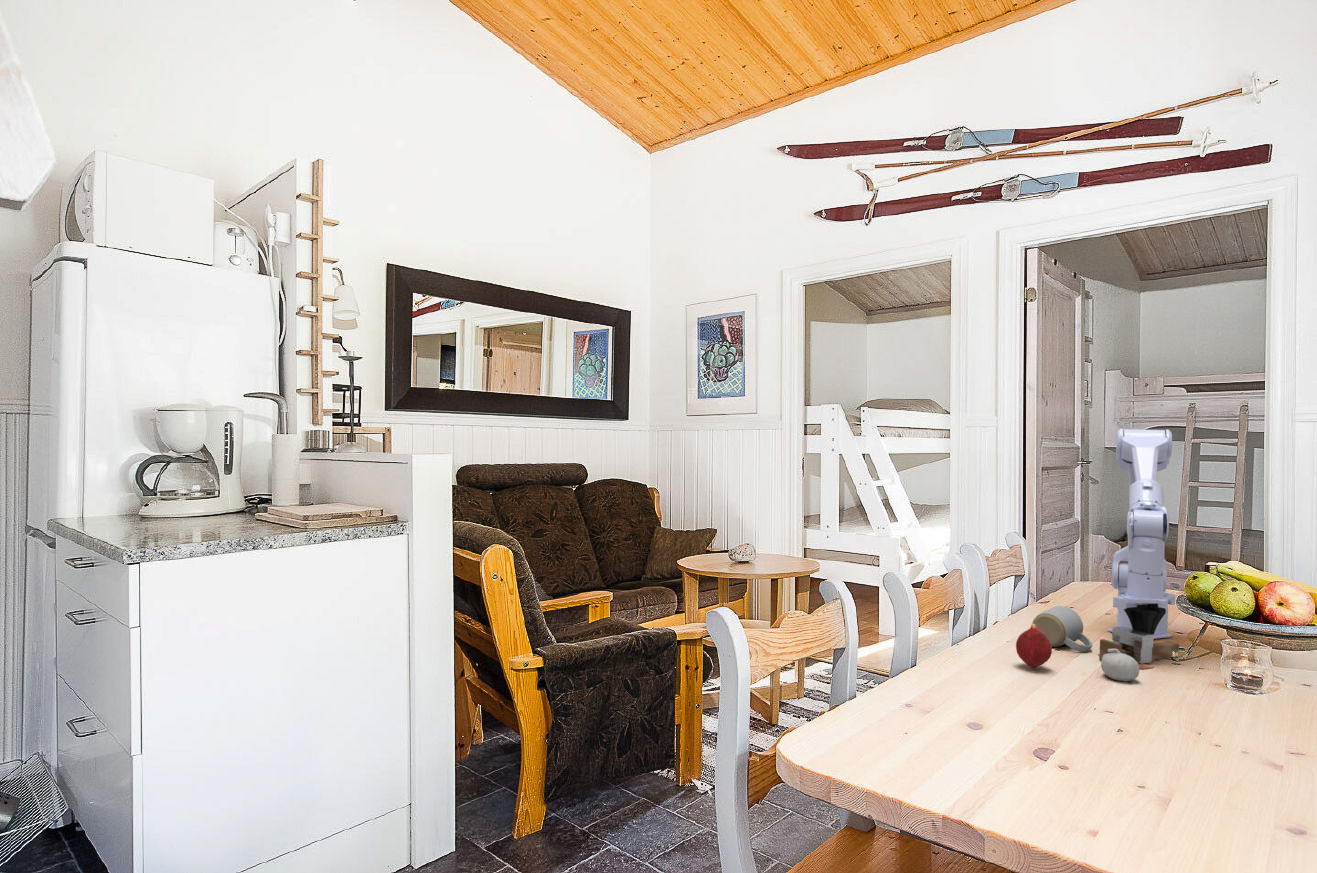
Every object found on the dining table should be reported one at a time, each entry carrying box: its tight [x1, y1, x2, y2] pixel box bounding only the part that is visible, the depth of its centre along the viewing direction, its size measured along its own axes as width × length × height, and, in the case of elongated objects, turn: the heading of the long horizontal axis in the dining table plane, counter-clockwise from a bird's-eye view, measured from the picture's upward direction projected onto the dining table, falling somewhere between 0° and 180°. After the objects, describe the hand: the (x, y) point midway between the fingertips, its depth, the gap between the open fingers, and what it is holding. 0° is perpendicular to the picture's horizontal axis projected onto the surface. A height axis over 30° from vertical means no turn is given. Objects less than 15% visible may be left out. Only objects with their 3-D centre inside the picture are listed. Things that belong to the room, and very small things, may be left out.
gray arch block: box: [1111, 626, 1154, 664], centre depth 144 cm, size 3×6×5 cm, turn 22°
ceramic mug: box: [1031, 605, 1093, 653], centre depth 153 cm, size 10×8×7 cm
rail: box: [1097, 638, 1180, 670], centre depth 145 cm, size 18×9×4 cm, turn 112°
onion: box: [1015, 623, 1053, 670], centre depth 137 cm, size 6×6×8 cm
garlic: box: [1100, 649, 1140, 682], centre depth 133 cm, size 6×5×5 cm
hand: (1143, 644), depth 145 cm, fingers closed
